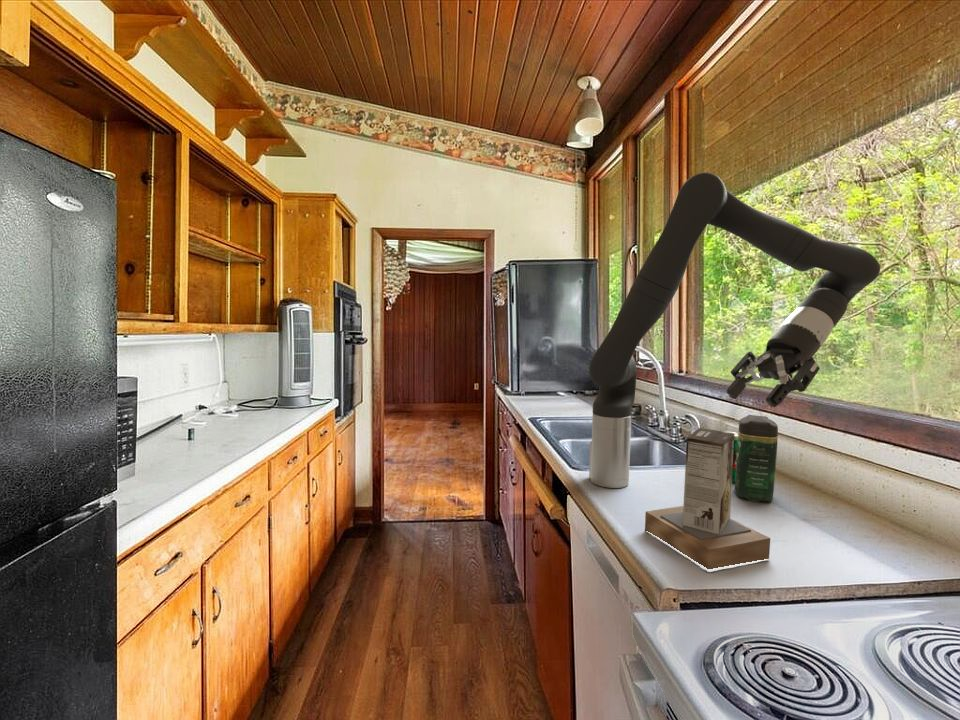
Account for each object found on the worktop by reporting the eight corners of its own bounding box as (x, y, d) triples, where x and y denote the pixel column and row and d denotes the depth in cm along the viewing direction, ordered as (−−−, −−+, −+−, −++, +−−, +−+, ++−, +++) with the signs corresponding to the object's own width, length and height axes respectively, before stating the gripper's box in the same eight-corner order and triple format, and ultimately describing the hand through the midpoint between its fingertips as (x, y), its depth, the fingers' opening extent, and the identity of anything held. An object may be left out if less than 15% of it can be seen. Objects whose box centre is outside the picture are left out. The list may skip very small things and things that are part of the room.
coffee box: (694, 509, 94) (698, 427, 92) (731, 518, 90) (736, 432, 89) (680, 525, 87) (685, 436, 85) (720, 535, 83) (725, 442, 81)
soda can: (716, 476, 127) (719, 430, 126) (738, 478, 125) (740, 432, 124) (719, 482, 122) (722, 435, 121) (742, 484, 121) (745, 437, 119)
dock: (644, 531, 94) (645, 509, 94) (698, 522, 98) (699, 501, 98) (708, 573, 79) (709, 547, 79) (768, 560, 83) (770, 536, 83)
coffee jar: (775, 505, 107) (781, 422, 106) (735, 499, 111) (740, 419, 109) (771, 491, 116) (776, 414, 114) (733, 486, 119) (738, 411, 118)
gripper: (757, 321, 97) (708, 380, 94) (828, 323, 84) (774, 392, 81) (775, 347, 99) (728, 406, 97) (848, 353, 86) (795, 421, 83)
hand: (749, 399), depth 89 cm, fingers open, 8 cm apart
